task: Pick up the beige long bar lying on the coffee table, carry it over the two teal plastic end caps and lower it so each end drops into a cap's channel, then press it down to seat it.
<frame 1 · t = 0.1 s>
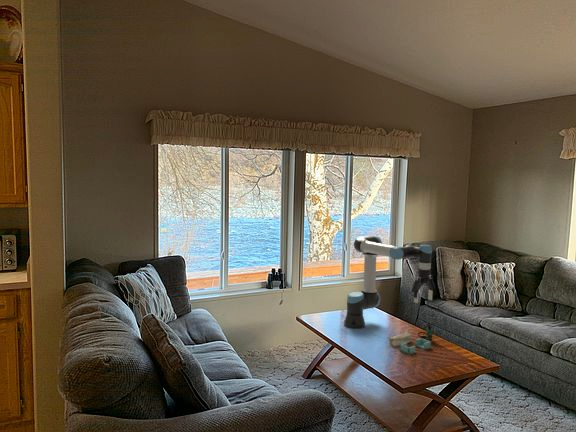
hand: (423, 301, 281), 28 cm above the table, fingers open, 13 cm apart
cap b: (423, 346, 277), on the table
binoculars: (425, 340, 289), on the table
beige long bar: (400, 343, 282), on the table
cap a: (407, 351, 268), on the table
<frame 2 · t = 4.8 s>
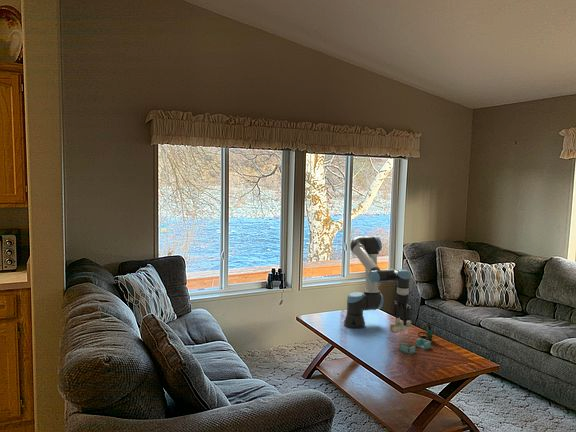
hand: (400, 328, 282), 9 cm above the table, fingers closed on beige long bar, 4 cm apart
beige long bar: (400, 329, 282), point 9 cm above the table, touching gripper
everything else where it was.
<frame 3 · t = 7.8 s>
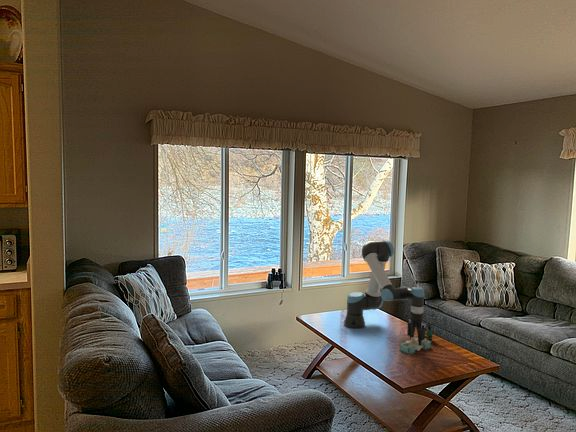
hand: (415, 348, 272), 0 cm above the table, fingers closed on beige long bar, 4 cm apart
beige long bar: (415, 348, 272), point 1 cm above the table, touching cap a, cap b, gripper
everything else where it was.
when the fingers open (0 cm above the table, at t = 7.9 s): beige long bar stays where it is, resting on cap a, cap b.
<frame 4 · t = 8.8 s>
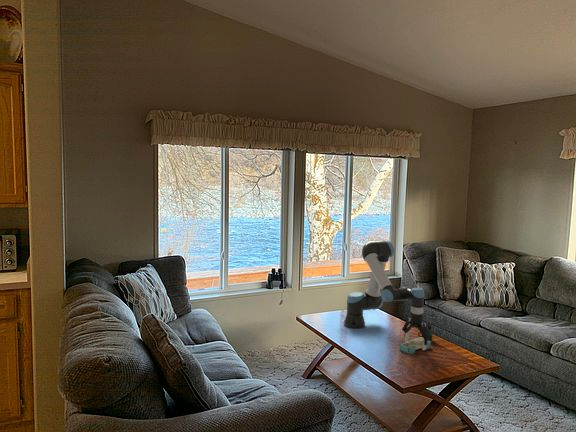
hand: (415, 346, 272), 2 cm above the table, fingers open, 13 cm apart
beige long bar: (415, 348, 272), point 1 cm above the table, touching cap a, cap b
everything else where it was.
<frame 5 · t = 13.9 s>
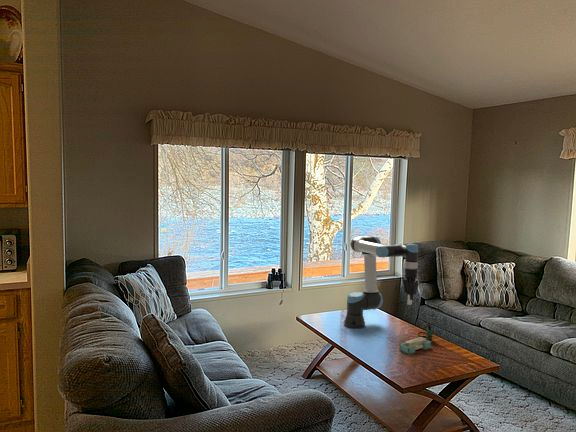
hand: (409, 304, 278), 26 cm above the table, fingers closed
nothing on the table moved.
at the end: beige long bar 0.1 cm from the target spot, point 0.8 cm above the table; beige long bar touching cap a, cap b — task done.
